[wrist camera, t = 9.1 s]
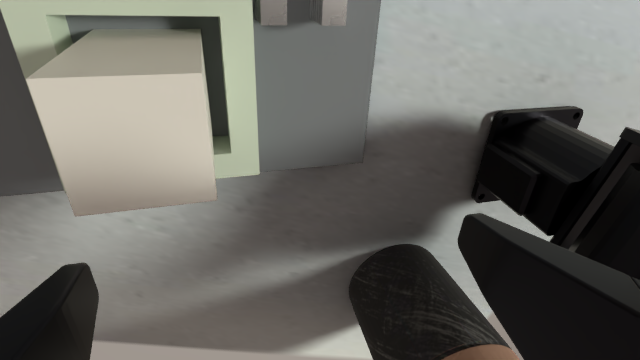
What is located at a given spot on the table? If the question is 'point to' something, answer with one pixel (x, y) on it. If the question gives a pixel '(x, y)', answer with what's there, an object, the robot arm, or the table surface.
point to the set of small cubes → (324, 10)
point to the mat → (271, 91)
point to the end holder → (227, 3)
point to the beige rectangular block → (129, 119)
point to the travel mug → (419, 311)
